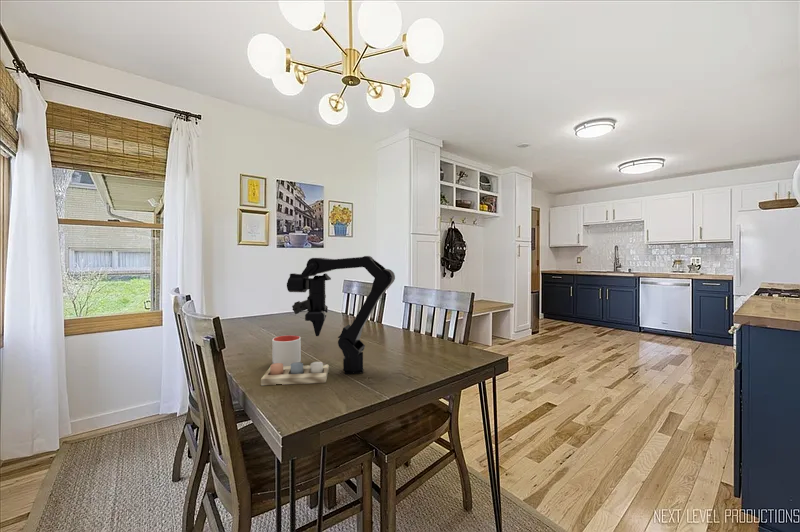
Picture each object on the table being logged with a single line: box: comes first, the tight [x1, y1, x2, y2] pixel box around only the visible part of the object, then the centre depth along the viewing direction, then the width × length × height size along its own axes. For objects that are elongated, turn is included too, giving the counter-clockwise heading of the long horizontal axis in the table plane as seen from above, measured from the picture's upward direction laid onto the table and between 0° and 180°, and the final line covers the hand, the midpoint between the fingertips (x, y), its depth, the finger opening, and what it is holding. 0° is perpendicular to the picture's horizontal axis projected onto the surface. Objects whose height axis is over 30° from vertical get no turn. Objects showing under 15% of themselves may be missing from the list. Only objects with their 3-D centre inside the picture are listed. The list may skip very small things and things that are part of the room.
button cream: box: [310, 361, 324, 373], centre depth 116 cm, size 4×4×4 cm
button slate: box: [291, 361, 304, 374], centre depth 115 cm, size 4×4×4 cm
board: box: [260, 364, 330, 386], centre depth 115 cm, size 20×12×2 cm, turn 97°
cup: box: [271, 335, 302, 366], centre depth 128 cm, size 10×10×10 cm
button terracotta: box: [269, 363, 283, 375], centre depth 114 cm, size 4×4×4 cm
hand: (317, 335), depth 123 cm, fingers closed
